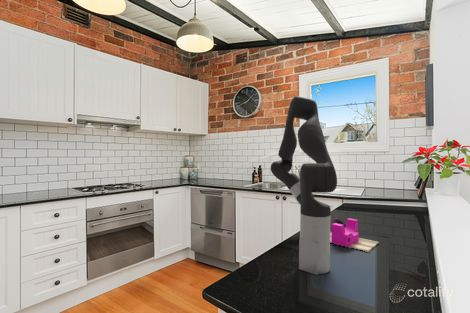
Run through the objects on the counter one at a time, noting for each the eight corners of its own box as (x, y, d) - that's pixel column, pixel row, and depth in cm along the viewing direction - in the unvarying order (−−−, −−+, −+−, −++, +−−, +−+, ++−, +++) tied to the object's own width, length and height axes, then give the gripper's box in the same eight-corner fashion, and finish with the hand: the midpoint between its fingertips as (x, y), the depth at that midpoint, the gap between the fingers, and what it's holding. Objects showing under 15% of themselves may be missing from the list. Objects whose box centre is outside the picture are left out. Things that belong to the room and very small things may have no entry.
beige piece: (367, 252, 100) (368, 218, 100) (307, 238, 116) (308, 208, 116) (378, 243, 110) (379, 212, 110) (322, 231, 127) (322, 204, 126)
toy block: (346, 246, 104) (346, 227, 104) (331, 242, 109) (331, 224, 109) (363, 238, 114) (363, 221, 114) (349, 235, 119) (349, 218, 119)
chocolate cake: (364, 237, 121) (348, 214, 128) (357, 235, 116) (342, 212, 124) (346, 248, 125) (332, 225, 132) (339, 247, 120) (325, 223, 128)
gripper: (299, 190, 119) (325, 222, 111) (314, 187, 129) (339, 216, 121) (288, 200, 123) (313, 233, 115) (304, 196, 133) (327, 226, 125)
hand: (326, 224), depth 118 cm, fingers closed on beige piece, 4 cm apart
